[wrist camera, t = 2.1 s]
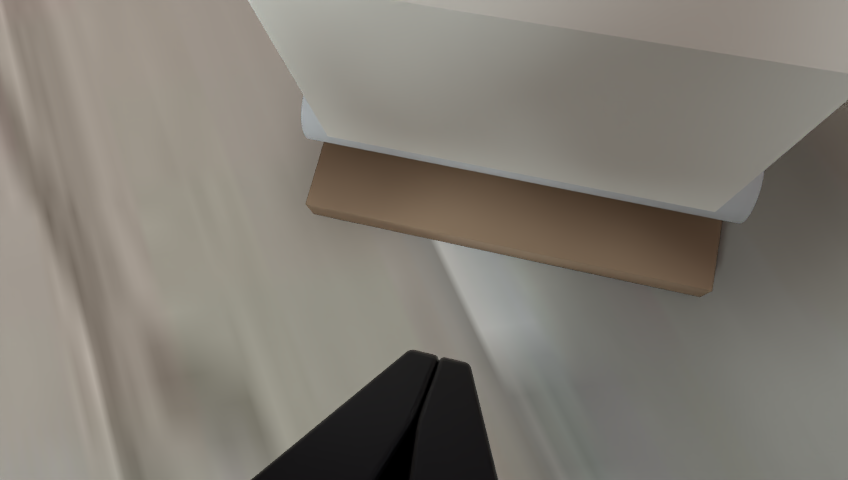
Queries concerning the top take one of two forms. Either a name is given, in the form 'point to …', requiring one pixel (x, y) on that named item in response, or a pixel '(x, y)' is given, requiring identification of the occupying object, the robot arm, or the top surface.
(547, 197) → the brown wooden plank
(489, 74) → the white rectangular box
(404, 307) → the top surface
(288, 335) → the top surface
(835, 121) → the top surface
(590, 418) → the top surface
